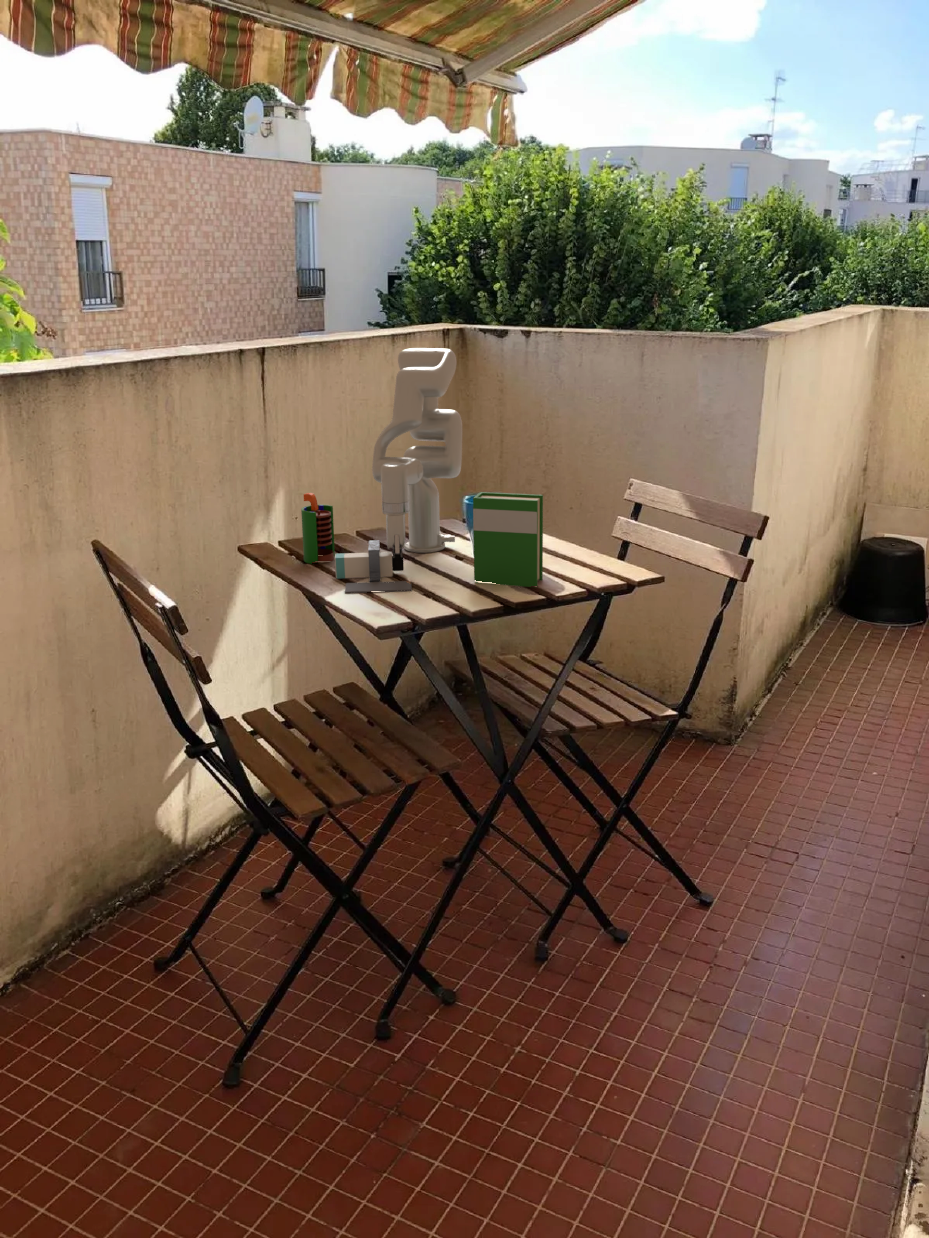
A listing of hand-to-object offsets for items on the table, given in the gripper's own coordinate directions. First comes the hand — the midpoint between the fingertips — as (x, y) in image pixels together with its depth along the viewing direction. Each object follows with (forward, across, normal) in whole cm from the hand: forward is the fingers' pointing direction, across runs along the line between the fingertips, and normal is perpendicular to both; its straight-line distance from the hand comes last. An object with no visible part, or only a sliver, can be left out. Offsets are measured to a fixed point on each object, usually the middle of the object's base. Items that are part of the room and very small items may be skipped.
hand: (398, 570), depth 313 cm
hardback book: (+1, +11, +30) cm, 32 cm away
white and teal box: (+1, 0, -10) cm, 10 cm away
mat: (+1, +13, -6) cm, 14 cm away
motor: (+1, -18, -24) cm, 30 cm away
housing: (+1, 0, -6) cm, 7 cm away
